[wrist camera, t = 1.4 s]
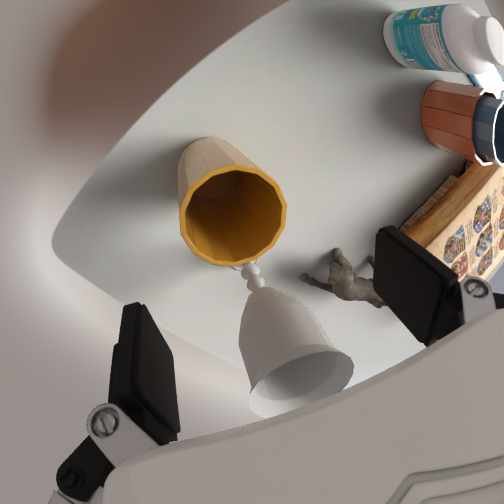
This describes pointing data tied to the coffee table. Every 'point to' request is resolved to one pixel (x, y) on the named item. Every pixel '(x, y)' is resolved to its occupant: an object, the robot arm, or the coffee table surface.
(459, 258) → the book
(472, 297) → the robot arm
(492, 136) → the cup stack
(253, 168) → the ochre cup
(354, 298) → the dog figurine
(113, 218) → the coffee table surface
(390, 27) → the pill bottle
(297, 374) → the chalice
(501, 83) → the smartphone
